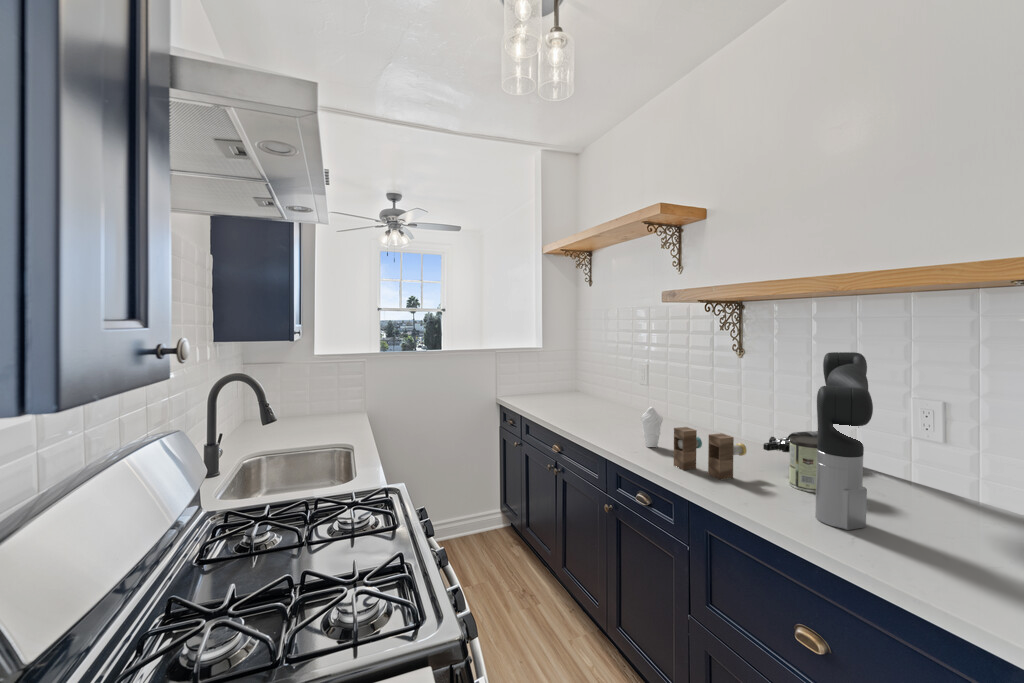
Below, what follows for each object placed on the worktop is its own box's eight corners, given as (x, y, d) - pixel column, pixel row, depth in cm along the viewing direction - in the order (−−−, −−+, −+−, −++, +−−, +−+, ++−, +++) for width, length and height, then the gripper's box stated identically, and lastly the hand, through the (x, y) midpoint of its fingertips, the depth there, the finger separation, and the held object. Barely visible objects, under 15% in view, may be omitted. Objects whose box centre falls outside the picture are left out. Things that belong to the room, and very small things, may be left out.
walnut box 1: (696, 468, 151) (696, 430, 150) (683, 470, 149) (683, 431, 149) (686, 464, 156) (686, 426, 155) (673, 465, 154) (673, 427, 154)
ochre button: (746, 456, 144) (746, 444, 143) (728, 458, 142) (728, 446, 141) (737, 453, 147) (737, 441, 147) (719, 455, 145) (719, 443, 145)
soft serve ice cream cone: (644, 442, 183) (645, 403, 183) (665, 445, 178) (665, 405, 178) (637, 447, 177) (637, 406, 176) (658, 450, 172) (659, 409, 171)
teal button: (701, 449, 152) (702, 438, 152) (684, 451, 150) (684, 439, 150) (694, 446, 156) (694, 435, 155) (677, 448, 154) (677, 437, 153)
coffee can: (819, 481, 138) (820, 436, 137) (836, 494, 128) (838, 445, 127) (782, 479, 140) (783, 434, 139) (796, 491, 130) (797, 443, 129)
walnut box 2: (733, 478, 142) (733, 437, 141) (719, 479, 140) (720, 438, 140) (721, 472, 147) (721, 433, 146) (708, 474, 145) (708, 434, 145)
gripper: (790, 427, 159) (749, 431, 154) (825, 436, 146) (782, 440, 141) (789, 448, 159) (749, 452, 154) (824, 459, 146) (782, 464, 142)
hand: (765, 447), depth 148 cm, fingers closed
